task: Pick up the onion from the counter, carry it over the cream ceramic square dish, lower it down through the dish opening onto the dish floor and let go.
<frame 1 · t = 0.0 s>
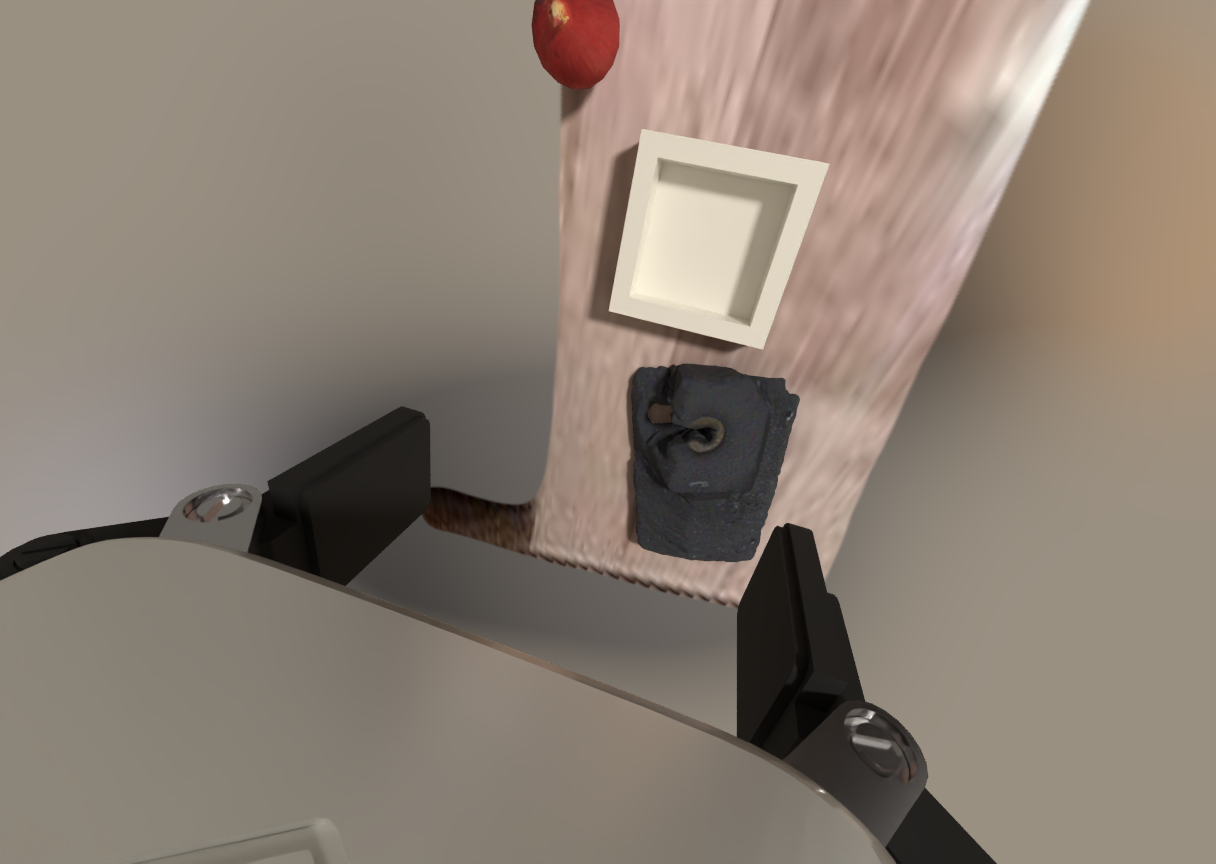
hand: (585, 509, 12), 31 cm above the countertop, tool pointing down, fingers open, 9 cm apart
dish: (708, 243, 36), on the countertop
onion: (592, 52, 33), on the countertop
dark grey folded cloth: (701, 464, 46), on the countertop
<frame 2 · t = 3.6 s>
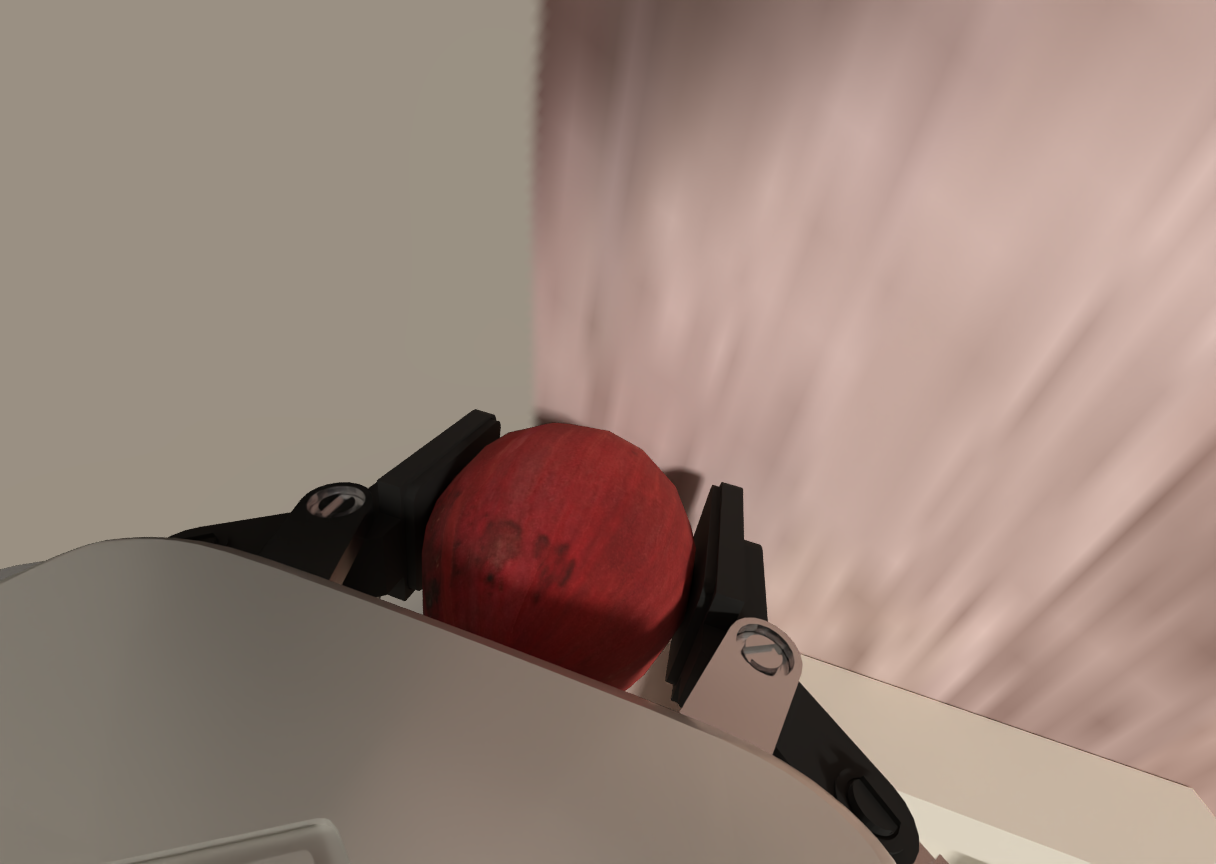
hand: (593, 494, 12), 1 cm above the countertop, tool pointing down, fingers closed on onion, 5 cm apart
dish: (857, 805, 17), on the countertop
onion: (606, 469, 13), on the countertop, touching gripper
when the fingers open (4 cm above the countertop, at t = 8.9 s): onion drops 2 cm, resting on dish.
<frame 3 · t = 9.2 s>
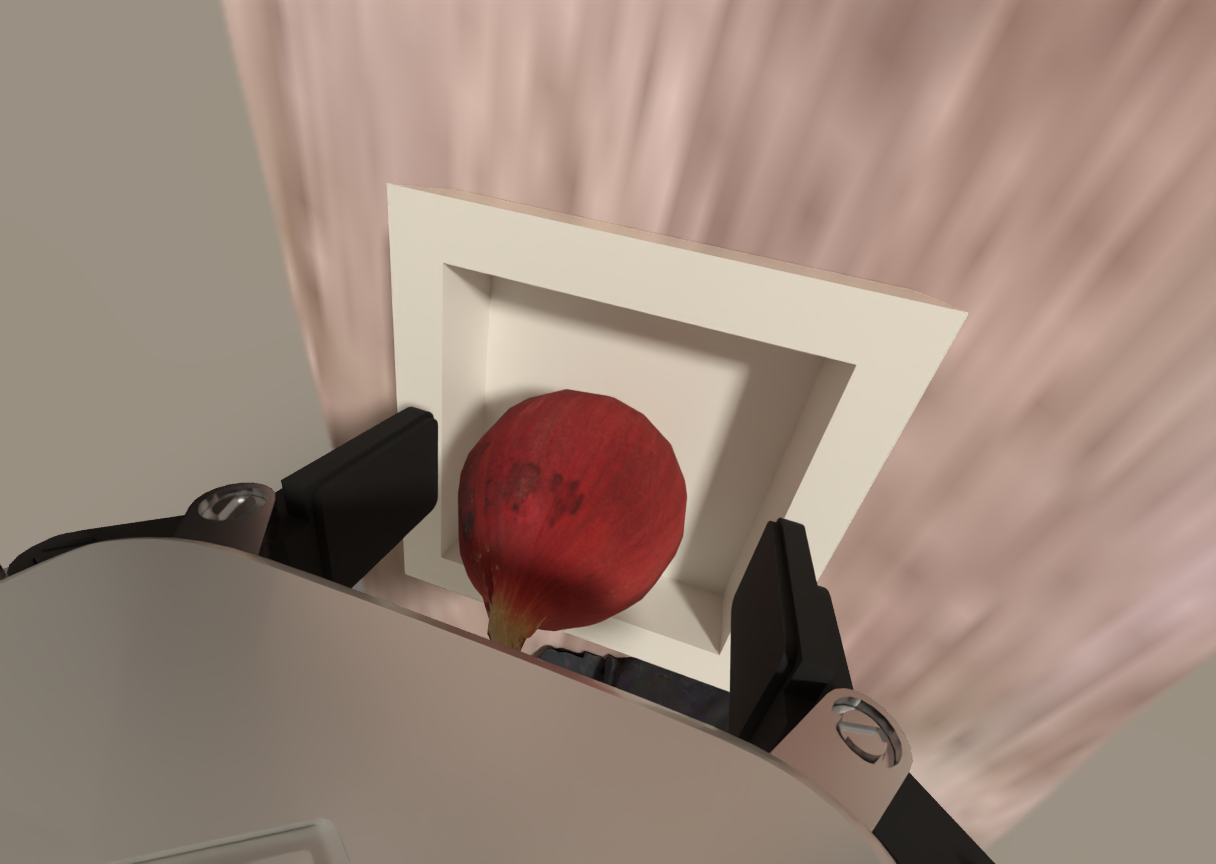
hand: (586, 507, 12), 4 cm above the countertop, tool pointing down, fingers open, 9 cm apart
dish: (623, 436, 16), on the countertop
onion: (614, 436, 15), resting on dish
dark grey folded cloth: (665, 786, 25), on the countertop
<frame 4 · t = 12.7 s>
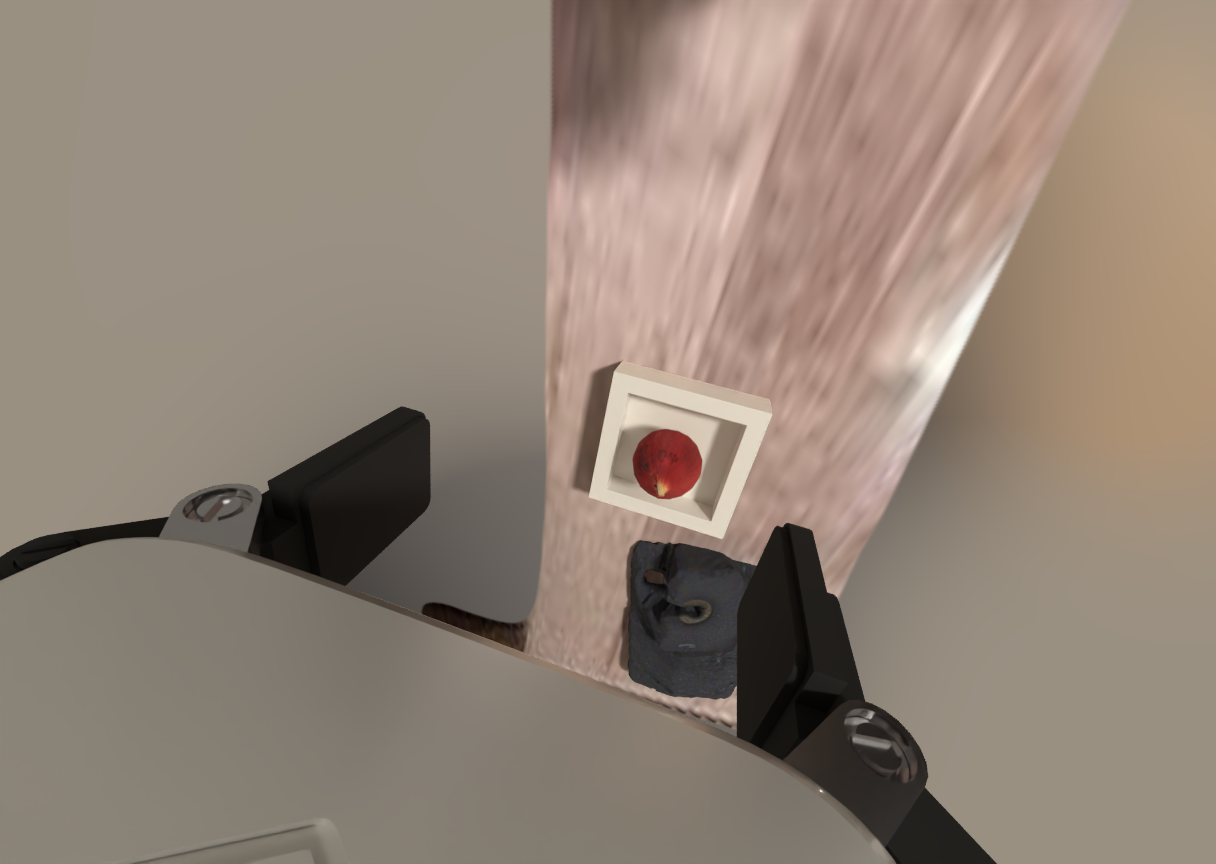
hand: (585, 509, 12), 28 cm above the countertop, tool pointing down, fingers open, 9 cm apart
dish: (675, 443, 42), on the countertop
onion: (672, 443, 41), resting on dish
dark grey folded cloth: (690, 617, 51), on the countertop
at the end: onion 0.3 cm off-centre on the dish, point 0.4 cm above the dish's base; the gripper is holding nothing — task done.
